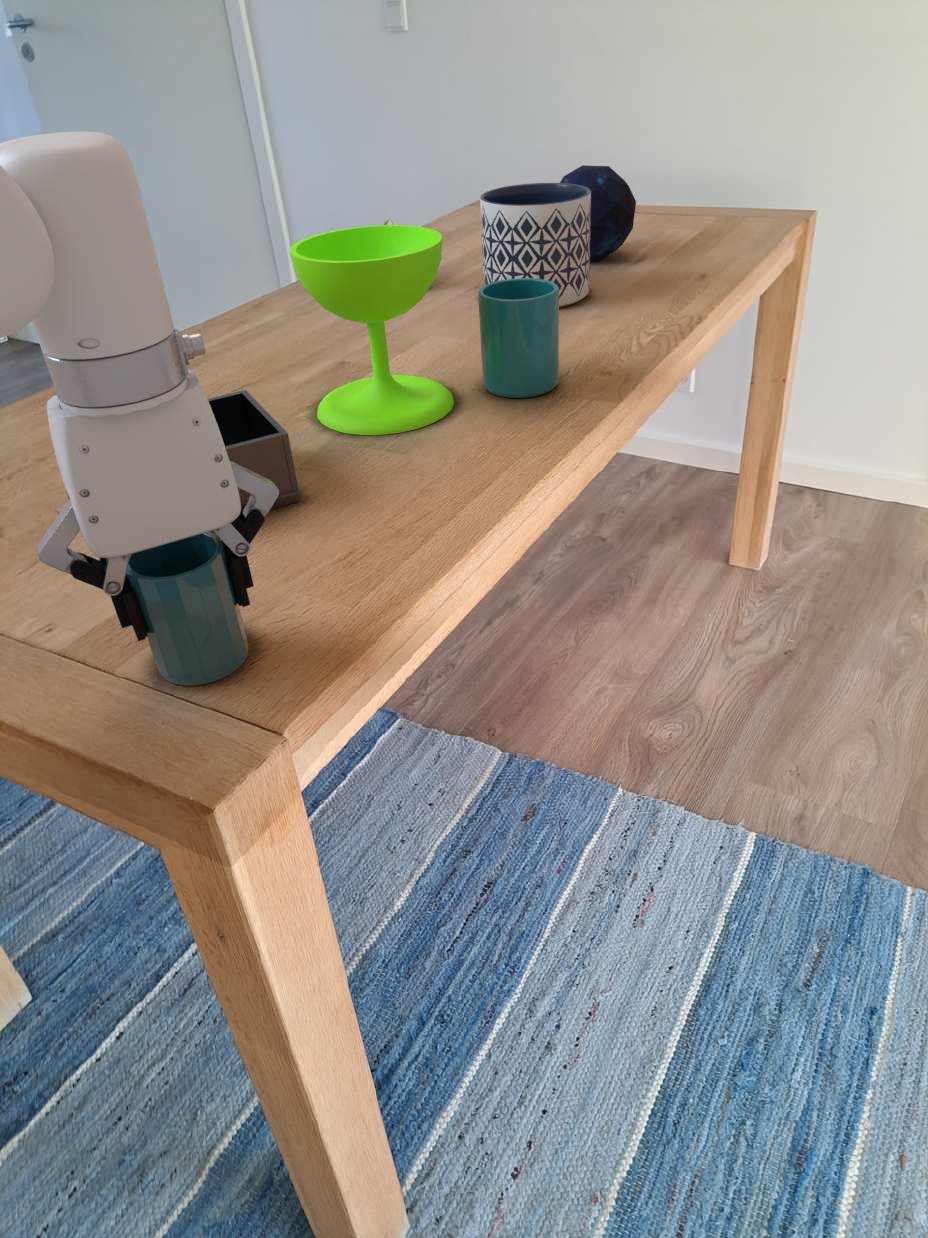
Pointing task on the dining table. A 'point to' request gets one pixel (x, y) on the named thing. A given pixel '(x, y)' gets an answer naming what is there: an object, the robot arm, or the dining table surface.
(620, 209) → the decorative orb
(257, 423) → the grey open box
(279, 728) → the dining table surface
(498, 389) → the cup
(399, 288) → the wineglass
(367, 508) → the dining table surface
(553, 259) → the planter
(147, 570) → the tumbler
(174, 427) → the robot arm
